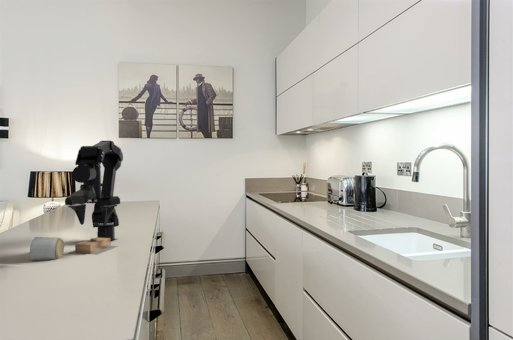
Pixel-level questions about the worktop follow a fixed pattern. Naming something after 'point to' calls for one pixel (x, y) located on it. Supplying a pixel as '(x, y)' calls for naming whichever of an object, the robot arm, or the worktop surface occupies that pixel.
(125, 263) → the worktop surface
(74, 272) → the worktop surface
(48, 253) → the ceramic mug
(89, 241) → the lid
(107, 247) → the mat
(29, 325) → the worktop surface
